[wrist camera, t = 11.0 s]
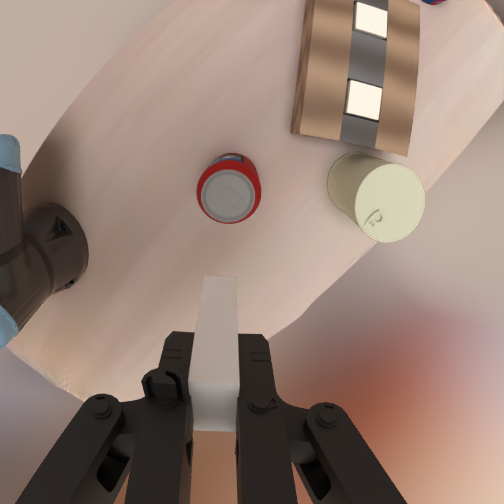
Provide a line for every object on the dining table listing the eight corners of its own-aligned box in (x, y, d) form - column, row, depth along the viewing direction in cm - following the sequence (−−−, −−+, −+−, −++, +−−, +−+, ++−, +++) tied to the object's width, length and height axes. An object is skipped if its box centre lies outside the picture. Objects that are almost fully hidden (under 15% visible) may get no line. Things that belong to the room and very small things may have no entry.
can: (314, 180, 41) (339, 201, 30) (361, 139, 39) (401, 146, 28) (352, 226, 44) (384, 260, 33) (396, 187, 42) (439, 210, 31)
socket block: (384, 150, 39) (407, 156, 33) (290, 132, 38) (299, 133, 32) (397, 18, 31) (419, 5, 24) (306, -8, 30) (317, -28, 23)
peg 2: (330, 113, 37) (347, 112, 31) (333, 86, 35) (350, 80, 29) (357, 119, 37) (378, 120, 31) (361, 93, 36) (382, 88, 29)
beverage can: (228, 142, 39) (221, 148, 28) (267, 173, 41) (276, 191, 30) (197, 181, 41) (180, 202, 30) (236, 210, 43) (233, 241, 32)
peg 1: (338, 41, 33) (355, 28, 26) (340, 18, 31) (357, 1, 25) (365, 48, 33) (386, 37, 26) (367, 25, 31) (387, 11, 25)
